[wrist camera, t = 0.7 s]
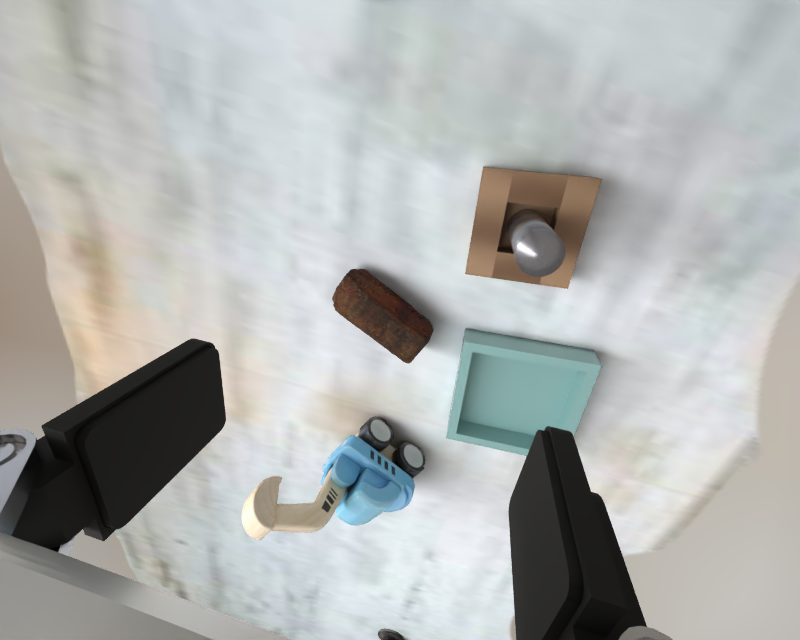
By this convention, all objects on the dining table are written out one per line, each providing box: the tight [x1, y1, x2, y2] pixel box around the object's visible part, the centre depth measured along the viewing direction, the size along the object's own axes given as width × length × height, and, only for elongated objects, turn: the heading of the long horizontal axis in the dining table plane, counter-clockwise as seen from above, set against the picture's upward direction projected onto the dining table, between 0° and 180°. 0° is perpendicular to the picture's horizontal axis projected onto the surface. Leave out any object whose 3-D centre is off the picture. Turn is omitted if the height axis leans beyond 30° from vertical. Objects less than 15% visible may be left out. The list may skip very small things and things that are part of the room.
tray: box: [446, 329, 602, 456], centre depth 38 cm, size 13×13×3 cm
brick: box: [332, 269, 433, 363], centre depth 37 cm, size 11×4×5 cm, turn 55°
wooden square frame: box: [465, 167, 602, 289], centre depth 31 cm, size 9×9×3 cm
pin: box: [507, 209, 566, 277], centre depth 27 cm, size 3×3×10 cm
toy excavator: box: [242, 417, 425, 540], centre depth 40 cm, size 9×17×17 cm, turn 53°
